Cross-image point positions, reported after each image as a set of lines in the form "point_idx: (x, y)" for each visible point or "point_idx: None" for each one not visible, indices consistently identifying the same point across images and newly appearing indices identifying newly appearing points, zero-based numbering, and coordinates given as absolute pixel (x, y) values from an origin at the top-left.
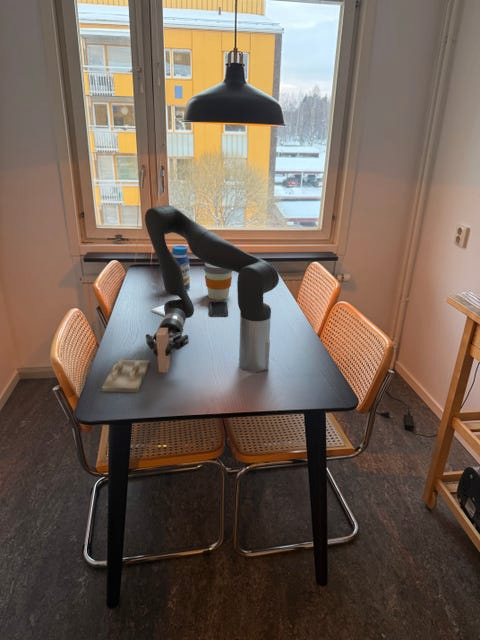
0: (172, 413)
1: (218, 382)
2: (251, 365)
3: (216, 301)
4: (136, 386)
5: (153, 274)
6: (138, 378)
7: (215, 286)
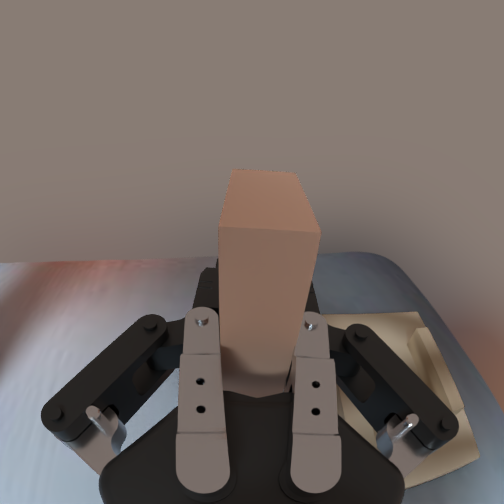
0: (204, 260)
1: (56, 356)
2: None
3: None
4: (329, 322)
5: None
6: None
7: None
